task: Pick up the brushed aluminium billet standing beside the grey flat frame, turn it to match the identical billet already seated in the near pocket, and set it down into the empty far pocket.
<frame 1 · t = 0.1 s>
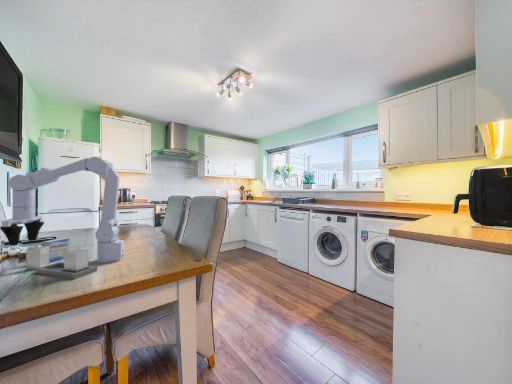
hand: (23, 242, 80), 10 cm above the table, tool pointing down, fingers open, 7 cm apart
grey flat frame: (66, 274, 75), on the table
medicine box: (55, 260, 91), on the table
billet: (37, 269, 80), on the table
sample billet: (76, 273, 74), point 1 cm above the table, touching grey flat frame
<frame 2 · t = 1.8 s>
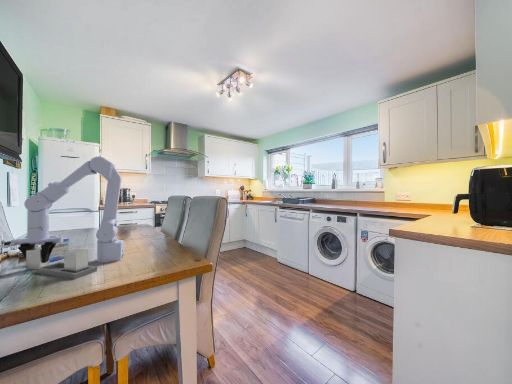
hand: (37, 262, 80), 2 cm above the table, tool pointing down, fingers closed on billet, 4 cm apart
billet: (37, 269, 80), on the table, touching gripper
everything else where it was.
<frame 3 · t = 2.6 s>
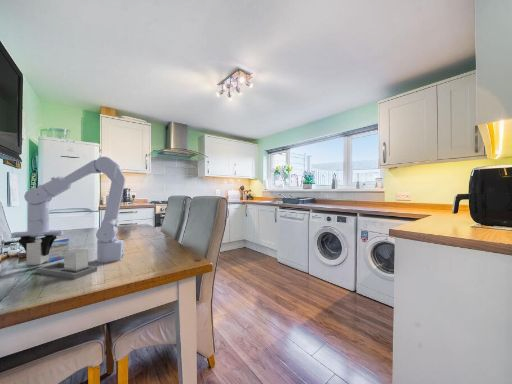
hand: (38, 255, 80), 5 cm above the table, tool pointing down, fingers closed on billet, 4 cm apart
billet: (38, 262, 80), point 3 cm above the table, touching gripper
everything else where it was.
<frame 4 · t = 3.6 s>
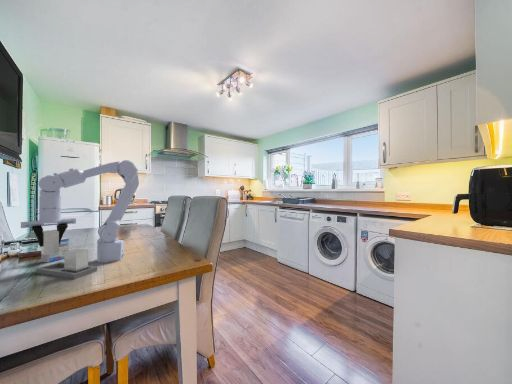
hand: (50, 244, 78), 10 cm above the table, tool pointing down, fingers closed on billet, 4 cm apart
billet: (49, 252, 78), point 7 cm above the table, touching gripper
everything else where it was.
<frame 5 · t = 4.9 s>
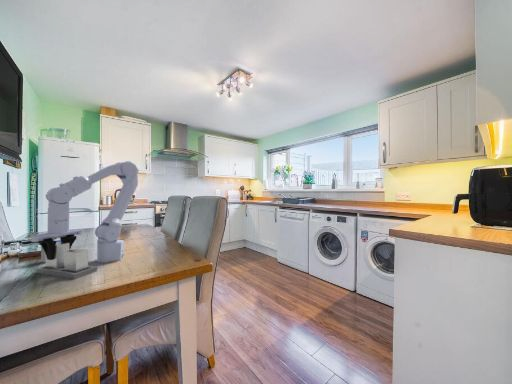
hand: (58, 257, 76), 6 cm above the table, tool pointing down, fingers closed on billet, 4 cm apart
billet: (57, 265, 76), point 3 cm above the table, touching gripper
everything else where it was.
when the fingers open (4 cm above the table, at t = 5.7 s): billet stays where it is, resting on grey flat frame.
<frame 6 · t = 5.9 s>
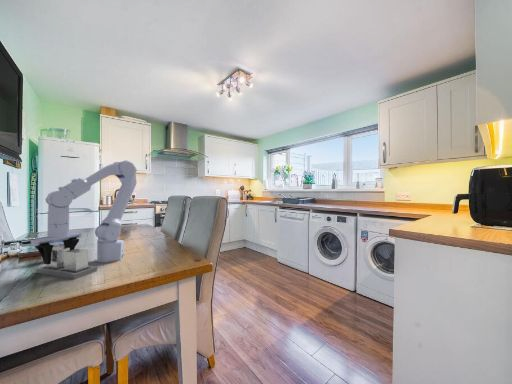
hand: (58, 261, 76), 4 cm above the table, tool pointing down, fingers open, 6 cm apart
billet: (57, 270, 76), point 1 cm above the table, touching grey flat frame
everything else where it was.
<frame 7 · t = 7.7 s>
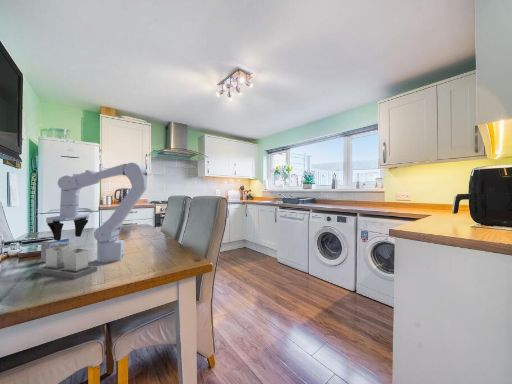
hand: (68, 238, 87), 10 cm above the table, tool pointing down, fingers open, 7 cm apart
nothing on the table moved.
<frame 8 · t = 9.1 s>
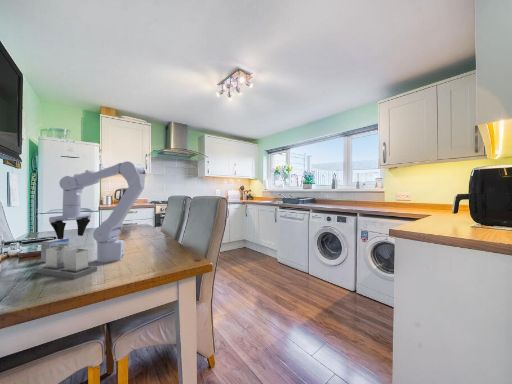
hand: (70, 237, 89), 10 cm above the table, tool pointing down, fingers open, 7 cm apart
nothing on the table moved.
at the end: billet 0.1 cm from the target spot on the grey flat frame, point 1.0 cm above the grey flat frame's base; billet tilted 0°; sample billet moved 0.0 cm from its start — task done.
